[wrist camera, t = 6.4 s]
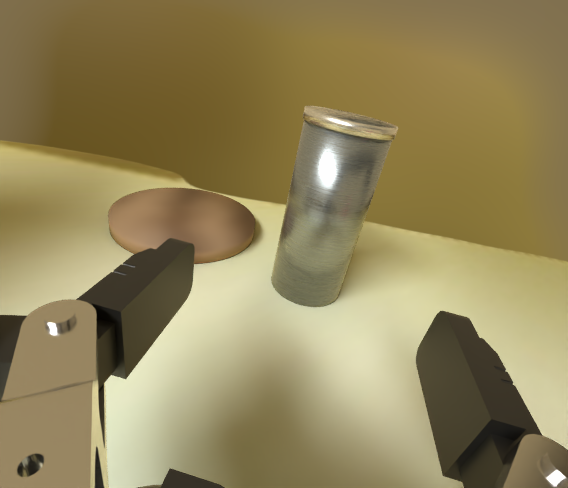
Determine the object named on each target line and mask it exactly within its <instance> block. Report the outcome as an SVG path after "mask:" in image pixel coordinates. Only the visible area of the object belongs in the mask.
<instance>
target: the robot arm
mask: <svg viewBox="0 0 568 488" xmlns="http://www.w3.org/2000/svg"><path fill="white" fill-rule="evenodd" d="M194 254H195V247H194V244H192V243H188V242H185V241H181V240H177V239H174V238H169V239H167V240H166V241H165V242H164V243H163V244H162V245H160V246H159V247H158V248H157V249H153V248H149V249H146V250H144V251H141V252H138V253H136V254H134V255H133V256H131V257H130V258H129V259H128V260H126V261H125V262H124V263H123V265H120V266H119V267H117V268H116V269H115V270H114V272H111V273H110V274H108V275H107V276H106V277H105V278H103V279H102V280H101V281H99V282H98V283H97V284H96V285H94V286H93V287H92V288H90V289H89V290H88V291H87V292H85V293H84V294H83V295H82V296H80V297H79V298H78V299H76V300H61V301H56V302H52V303H49V304H46V305H44V306H41V307H39V308H38V309H36V310H34V311H33V312H32V313H30V314H29V315H28V316H17V315H0V488H109V485H108V470H107V445H106V389H105V381H106V380H107V379H108V378H109V377H110V375H114V376H117V377H121V378H124V379H126V378H127V377H128V376H129V374H130V373H131V372H132V370H133V369H134V368H135V366H136V365H137V364H138V363H139V361H140V360H141V359H142V357H143V356H144V355H145V353H146V352H147V351H148V349H149V348H150V347H151V346H152V344H153V343H154V342H155V340H156V339H157V338H158V336H159V335H160V334H161V332H162V331H163V330H164V328H165V327H166V326H167V325H168V323H169V322H170V321H171V319H172V318H173V317H174V315H175V314H176V313H177V311H178V310H179V309H180V308H181V306H182V305H183V304H184V302H185V301H186V299H187V298H188V296H189V294H190V291H191V288H192V283H193V269H194ZM416 365H417V369H418V374H419V378H420V382H421V386H422V390H423V394H424V399H425V403H426V407H427V411H428V415H429V419H430V424H431V428H432V432H433V436H434V440H435V444H436V449H437V453H438V457H439V461H440V465H441V469H442V474H443V476H445V477H448V478H452V479H455V480H458V481H461V482H463V486H464V488H568V450H567V449H566V448H564V447H563V446H561V445H560V444H558V443H557V442H555V441H553V440H551V439H549V438H547V437H544V436H542V434H541V432H540V430H539V428H538V427H537V425H536V423H535V421H534V419H533V418H532V416H531V414H530V412H529V410H528V409H527V407H526V405H525V403H524V401H523V399H522V398H521V396H520V394H519V392H518V390H517V389H516V387H515V386H514V385H513V381H512V379H511V378H510V376H509V374H508V372H505V370H506V369H505V367H504V365H503V363H502V361H501V360H500V358H499V356H498V354H497V353H496V352H495V351H494V350H493V349H492V348H491V347H490V346H489V344H488V343H487V342H486V341H485V340H484V339H482V338H479V336H478V334H477V332H476V330H475V328H474V326H473V324H472V322H471V321H470V319H469V318H467V317H464V316H460V315H456V314H453V313H449V312H445V311H440V312H439V313H438V314H437V315H436V317H435V318H434V320H433V322H432V324H431V326H430V327H429V329H428V331H427V333H426V334H425V336H424V338H423V340H422V342H421V343H420V345H419V347H418V351H417V356H416ZM138 488H224V487H223V486H221V485H219V484H216V483H213V482H210V481H207V480H204V479H201V478H198V477H195V476H192V475H189V474H186V473H183V472H180V471H176V470H173V469H169V471H168V473H167V475H166V477H165V480H164V482H163V484H162V485H150V486H143V487H138Z"/></svg>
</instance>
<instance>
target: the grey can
mask: <svg viewBox="0 0 568 488" xmlns="http://www.w3.org/2000/svg"><path fill="white" fill-rule="evenodd" d="M303 119H304V123H303V128H302V133H301V137H300V142H299V147H298V152H297V157H296V161H295V166H294V171H293V176H292V181H291V185H290V190H289V195H288V200H287V205H286V210H285V214H284V219H283V224H282V229H281V234H280V238H279V243H278V248H277V253H276V258H275V263H274V267H273V272H272V277H271V281H272V284H273V287H274V288H275V290H276V291H277V292H278V293H279V294H280V295H281V296H283V297H284V298H286V299H287V300H289V301H291V302H294V303H296V304H299V305H303V306H309V307H321V306H326V305H329V304H331V303H333V302H334V301H335V300H336V299H337V298H338V295H339V292H340V289H341V286H342V284H343V281H344V278H345V275H346V272H347V269H348V266H349V263H350V260H351V258H352V255H353V252H354V249H355V246H356V243H357V240H358V237H359V234H360V231H361V229H362V226H363V223H364V220H365V217H366V214H367V211H368V208H369V205H370V202H371V199H372V197H373V194H374V191H375V188H376V185H377V182H378V179H379V176H380V174H381V171H382V168H383V165H384V162H385V159H386V156H387V153H388V150H389V147H390V144H391V142H392V140H394V138H395V136H396V133H397V130H398V127H397V126H395V125H392V124H390V123H387V122H384V121H381V120H377V119H374V118H370V117H366V116H362V115H358V114H354V113H349V112H345V111H340V110H335V109H329V108H324V107H316V106H305V109H304V114H303Z"/></svg>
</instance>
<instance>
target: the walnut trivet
mask: <svg viewBox="0 0 568 488" xmlns="http://www.w3.org/2000/svg"><path fill="white" fill-rule="evenodd" d="M108 217H109V229H110V234H111V236H112V237H113V239H114V240H115V241H116V242H117V243H118V244H119V245H120V246H121V247H123V248H124V249H126V250H128V251H130V252H132V253H134V254H136V253H138V252H141V251H144V250H146V249H149V248H153V249H157V248H158V247H159V246H160V245H162V244H163V243H164V242H165V241H166V240H167V239H169V238H174V239H177V240H181V241H185V242H188V243H192V244H194V247H195V254H194V264H197V263H208V262H214V261H219V260H223V259H226V258H229V257H232V256H234V255H236V254H238V253H240V252H242V251H243V250H245V249H246V248H247V247H248V246H249V245H250V243H251V242H252V239H253V235H254V229H255V218H254V216H253V214H252V213H251V212H250V211H249V210H248V209H247V208H246V207H245V206H243V205H242V204H240V203H239V202H237V201H235V200H233V199H230V198H228V197H225V196H223V195H219V194H216V193H212V192H208V191H202V190H196V189H187V188H158V189H149V190H144V191H139V192H135V193H132V194H129V195H127V196H125V197H123V198H121V199H119V200H118V201H116V202H115V203H114V204H113V205H112V206H111V208H110V210H109V214H108Z"/></svg>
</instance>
